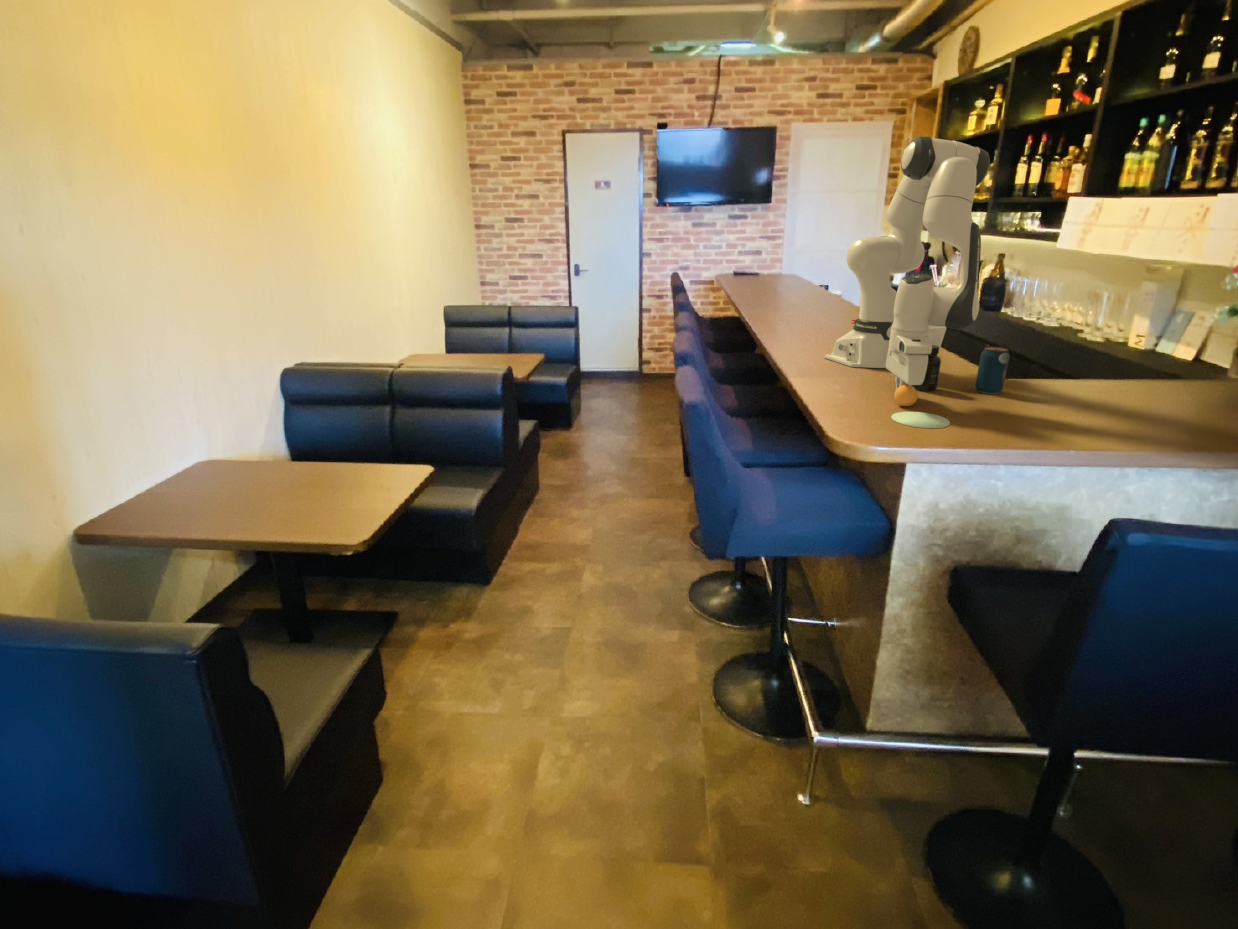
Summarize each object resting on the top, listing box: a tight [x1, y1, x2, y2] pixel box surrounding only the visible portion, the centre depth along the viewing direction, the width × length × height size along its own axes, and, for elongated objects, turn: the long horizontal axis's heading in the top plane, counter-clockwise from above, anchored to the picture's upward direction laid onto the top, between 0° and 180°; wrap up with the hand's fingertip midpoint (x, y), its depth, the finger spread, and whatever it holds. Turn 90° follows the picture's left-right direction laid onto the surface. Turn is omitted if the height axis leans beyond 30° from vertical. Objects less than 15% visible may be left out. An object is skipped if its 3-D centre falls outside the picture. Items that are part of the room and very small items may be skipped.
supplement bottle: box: [910, 345, 942, 392], centre depth 192 cm, size 7×7×12 cm
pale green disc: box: [890, 411, 951, 429], centre depth 166 cm, size 13×13×1 cm
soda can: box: [974, 345, 1011, 395], centre depth 190 cm, size 7×7×12 cm
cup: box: [928, 325, 948, 356], centre depth 203 cm, size 12×12×16 cm
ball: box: [894, 385, 919, 407], centre depth 177 cm, size 6×6×6 cm
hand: (900, 394), depth 181 cm, fingers closed
